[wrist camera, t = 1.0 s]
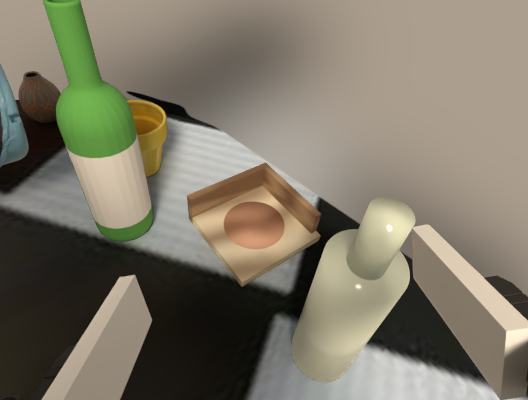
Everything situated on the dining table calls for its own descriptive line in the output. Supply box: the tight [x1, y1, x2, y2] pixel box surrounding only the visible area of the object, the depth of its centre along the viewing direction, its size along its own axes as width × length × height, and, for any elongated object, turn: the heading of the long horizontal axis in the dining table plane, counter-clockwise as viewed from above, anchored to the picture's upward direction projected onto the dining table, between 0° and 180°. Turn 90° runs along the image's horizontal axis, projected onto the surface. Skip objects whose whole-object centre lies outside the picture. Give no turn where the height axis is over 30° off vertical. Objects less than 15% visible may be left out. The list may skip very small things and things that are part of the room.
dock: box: [187, 163, 321, 287], centre depth 51 cm, size 14×14×5 cm
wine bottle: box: [43, 0, 153, 241], centre depth 41 cm, size 8×8×30 cm
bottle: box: [291, 197, 415, 382], centre depth 33 cm, size 7×7×24 cm
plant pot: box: [127, 100, 168, 177], centre depth 57 cm, size 10×10×10 cm
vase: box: [19, 71, 61, 123], centre depth 65 cm, size 7×7×9 cm
